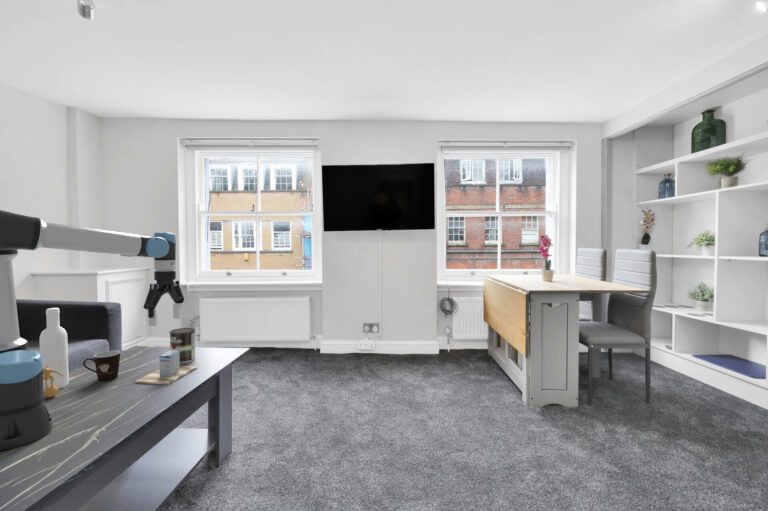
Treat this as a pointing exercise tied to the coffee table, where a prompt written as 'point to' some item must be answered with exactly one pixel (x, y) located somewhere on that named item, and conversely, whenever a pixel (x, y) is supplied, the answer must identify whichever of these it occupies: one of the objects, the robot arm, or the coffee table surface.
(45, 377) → the figurine
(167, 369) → the medicine box
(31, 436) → the robot arm
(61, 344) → the bottle
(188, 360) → the coffee can
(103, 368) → the coffee mug
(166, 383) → the birch board
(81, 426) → the coffee table surface
